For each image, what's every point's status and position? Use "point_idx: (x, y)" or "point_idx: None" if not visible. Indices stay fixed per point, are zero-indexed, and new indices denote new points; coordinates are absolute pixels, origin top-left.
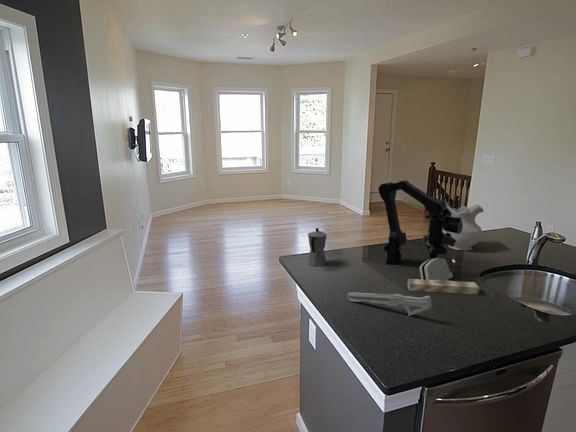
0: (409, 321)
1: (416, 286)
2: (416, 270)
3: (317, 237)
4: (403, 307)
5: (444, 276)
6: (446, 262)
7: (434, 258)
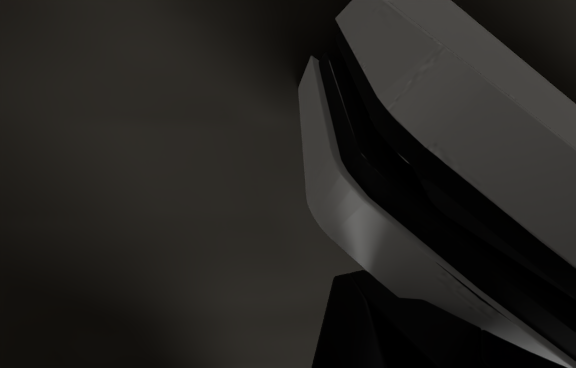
0: None
1: None
2: (294, 356)
3: None
4: None
5: (548, 82)
6: (430, 37)
7: (554, 352)
